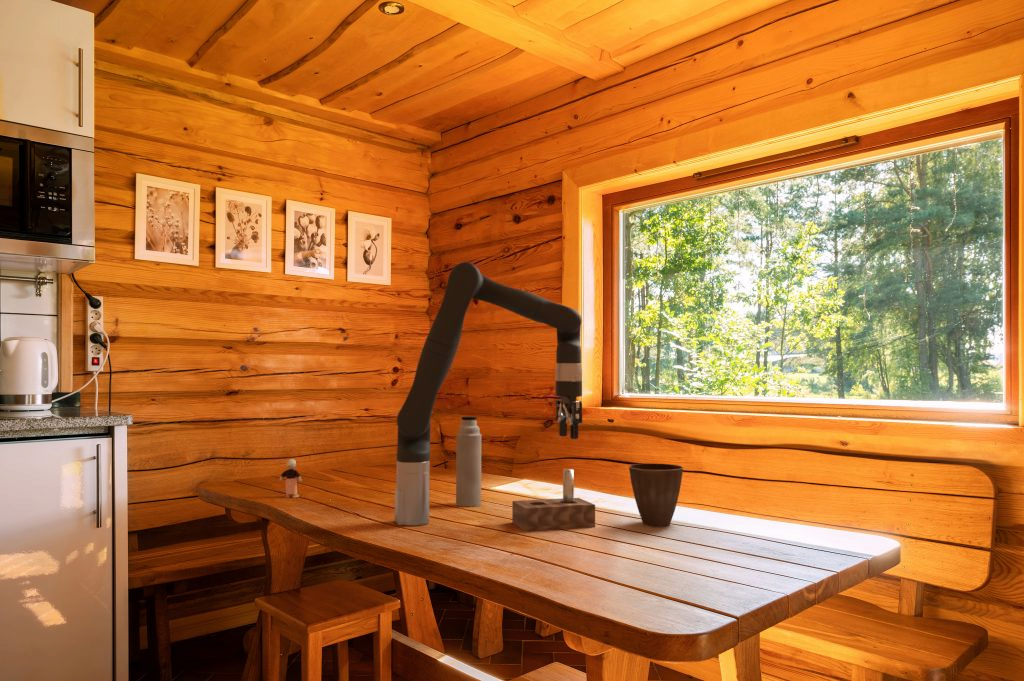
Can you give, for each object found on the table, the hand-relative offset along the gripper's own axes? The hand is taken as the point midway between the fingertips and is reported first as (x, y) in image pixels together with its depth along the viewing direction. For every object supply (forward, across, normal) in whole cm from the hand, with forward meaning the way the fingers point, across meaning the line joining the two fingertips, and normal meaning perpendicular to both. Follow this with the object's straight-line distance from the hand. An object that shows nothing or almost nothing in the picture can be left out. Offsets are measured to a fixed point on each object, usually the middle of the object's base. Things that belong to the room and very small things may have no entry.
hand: (568, 437), depth 211 cm
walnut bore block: (+24, 0, -4) cm, 24 cm away
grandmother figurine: (+24, -68, -74) cm, 103 cm away
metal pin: (+23, 0, 0) cm, 23 cm away
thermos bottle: (+24, -37, -20) cm, 48 cm away
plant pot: (+24, +7, +24) cm, 34 cm away
